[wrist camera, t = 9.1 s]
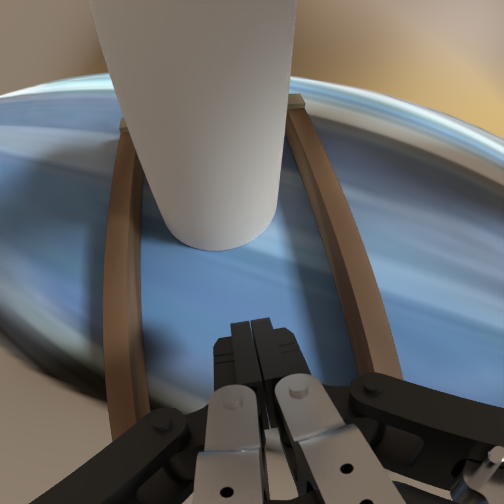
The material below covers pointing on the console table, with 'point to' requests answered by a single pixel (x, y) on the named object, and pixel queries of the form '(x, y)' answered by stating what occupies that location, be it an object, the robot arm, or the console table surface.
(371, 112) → the console table surface
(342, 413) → the robot arm
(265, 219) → the cup
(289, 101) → the bay
